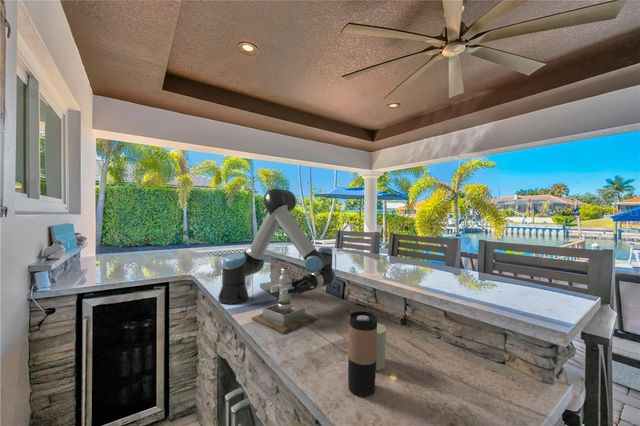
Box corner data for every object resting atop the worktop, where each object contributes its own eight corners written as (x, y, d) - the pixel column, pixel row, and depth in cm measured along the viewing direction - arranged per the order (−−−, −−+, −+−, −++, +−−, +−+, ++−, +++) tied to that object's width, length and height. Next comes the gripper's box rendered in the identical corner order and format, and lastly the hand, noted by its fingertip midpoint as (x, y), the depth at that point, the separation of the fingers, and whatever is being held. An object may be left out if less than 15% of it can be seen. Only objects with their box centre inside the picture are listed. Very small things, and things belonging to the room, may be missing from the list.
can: (383, 356, 93) (384, 321, 93) (387, 372, 84) (388, 333, 84) (355, 354, 94) (356, 319, 94) (356, 370, 85) (357, 331, 85)
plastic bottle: (294, 312, 124) (295, 267, 124) (287, 317, 118) (288, 270, 118) (281, 310, 126) (282, 266, 126) (274, 315, 120) (275, 269, 120)
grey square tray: (283, 309, 131) (284, 301, 131) (304, 317, 122) (305, 308, 122) (262, 317, 121) (262, 308, 121) (283, 326, 113) (283, 316, 112)
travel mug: (345, 380, 80) (347, 310, 79) (371, 379, 80) (373, 310, 80) (350, 398, 72) (352, 321, 72) (379, 397, 73) (381, 321, 72)
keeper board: (285, 308, 136) (285, 305, 136) (316, 319, 123) (316, 316, 123) (251, 320, 121) (251, 317, 121) (283, 334, 108) (283, 331, 108)
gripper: (327, 293, 130) (291, 305, 112) (298, 285, 142) (261, 295, 124) (327, 277, 130) (292, 286, 112) (298, 270, 142) (262, 278, 124)
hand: (276, 291), depth 118 cm, fingers closed on plastic bottle, 6 cm apart
